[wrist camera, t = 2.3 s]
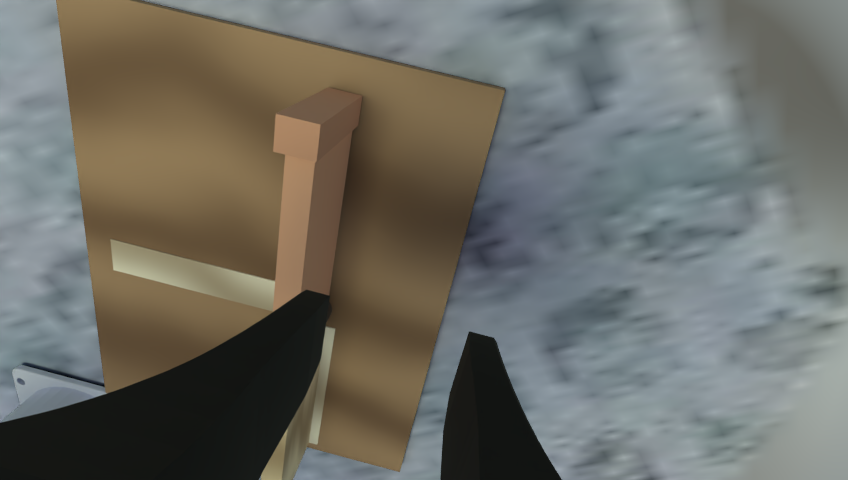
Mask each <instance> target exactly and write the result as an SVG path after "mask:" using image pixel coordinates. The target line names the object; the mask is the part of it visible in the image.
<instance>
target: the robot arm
mask: <svg viewBox="0 0 848 480" xmlns="http://www.w3.org/2000/svg"><path fill="white" fill-rule="evenodd" d="M329 299H330V296H329V295H325V294H322V293H318V292H314V291H310V290H305V291H303V292H301V293H300V294H298V295H297V296H295V297H294V298H292V299H291V300H289V301H288V302H287V303H285V304H284V305H282V306H281V307H279V308H278V309H276V310H275V311H273V312H272V313H271V314H269V315H268V316H266V317H264V318H263V319H261V320H260V321H258V322H257V323H255V324H254V325H252V326H250V327H249V328H247V329H246V330H244V331H242V332H241V333H239V334H237V335H236V336H234V337H232V338H230V339H229V340H227V341H225V342H223V343H222V344H220V345H218V346H216V347H215V348H213V349H211V350H209V351H207V352H205V353H203V354H201V355H200V356H198V357H196V358H194V359H192V360H190V361H187V362H185V363H183V364H181V365H179V366H177V367H174V368H172V369H170V370H168V371H165V372H163V373H160V374H158V375H155V376H153V377H150V378H147V379H145V380H142V381H140V382H137V383H134V384H132V385H129V386H127V387H124V388H121V389H119V390H116V391H113V392H110V393H106V392H105V387H102V386H99V385H95V384H91V383H88V382H84V381H80V380H76V379H73V378H69V377H65V376H62V375H58V374H54V373H50V372H47V371H43V370H39V369H35V368H32V367H28V366H24V365H19V366H17V367H16V368H14V369H13V371H12V373H13V378H14V382H15V386H16V390H17V395H18V399H19V403H20V406H19V407H17V408H16V409H15V410H14V411H13V412H11V413H10V414H9V415H8V416H7V417H5V418H4V419H3V420H2V421H1V422H0V480H259V478H260V476H261V474H262V472H263V470H264V469H265V467H266V465H267V463H268V462H269V460H270V458H271V456H272V455H273V453H274V451H275V449H276V448H277V446H278V444H279V442H280V440H281V439H282V437H283V435H284V433H285V432H286V430H287V428H288V426H289V425H290V423H291V421H292V419H293V418H294V416H295V414H296V412H297V410H298V409H299V407H300V405H301V403H302V401H303V400H304V398H305V396H306V394H307V392H308V389H309V387H310V385H311V382H312V380H313V378H314V375H315V373H316V370H317V368H318V365H319V363H320V360H321V356H322V349H323V342H324V335H325V328H326V320H327V313H328V306H329ZM441 480H562V479H561V478H560V476H559V475H558V473H557V471H556V470H555V468H554V466H553V465H552V463H551V462H550V460H549V458H548V457H547V455H546V453H545V452H544V450H543V448H542V446H541V444H540V443H539V441H538V439H537V437H536V435H535V433H534V431H533V429H532V427H531V426H530V424H529V422H528V420H527V418H526V416H525V413H524V411H523V409H522V407H521V405H520V403H519V400H518V398H517V396H516V394H515V391H514V389H513V387H512V384H511V382H510V379H509V377H508V374H507V372H506V369H505V366H504V364H503V361H502V358H501V355H500V352H499V349H498V346H497V343H496V341H495V339H494V338H492V337H488V336H484V335H481V334H477V333H473V332H469V334H468V337H467V340H466V343H465V347H464V350H463V353H462V356H461V359H460V363H459V366H458V369H457V372H456V375H455V378H454V382H453V385H452V388H451V391H450V396H449V401H448V407H447V413H446V419H445V425H444V431H443V446H442V463H441Z"/></svg>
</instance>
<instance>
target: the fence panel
mask: <svg viewBox="0 0 848 480" xmlns="http://www.w3.org/2000/svg"><path fill="white" fill-rule="evenodd" d="M361 103H362V95H357V94H353V93H349V92H345V91H341V90H337V89H333V88H329V87H328V88H326V89H324V90H322V91H320V92H318V93H316V94H314V95H312V96H310V97H308V98H306V99H304V100H302V101H300V102H298V103H296V104H294V105H292V106H290V107H288V108H286V109H284V110H282V111H280V112H278V113H276V117H275V132H274V146H273V152H277V153H281V154H285V163H284V175H283V188H282V201H281V213H280V226H279V239H278V251H277V264H276V277H275V289H274V302H273V311H275V310H276V309H278V308H279V307H281V306H282V305H284V304H285V303H287V302H288V301H289V300H291V299H292V298H294V297H295V296H297V295H298V294H300V293H301V292H303V291H305V290H310V291H314V292H318V293H322V294H325V295H329V293H330V286H331V279H332V272H333V265H334V258H335V251H336V244H337V237H338V230H339V223H340V216H341V208H342V201H343V194H344V187H345V180H346V173H347V166H348V159H349V152H350V145H351V138H352V131H353V130H354V129H355V128H356V127H357V126H358V124H359V117H360V110H361Z"/></svg>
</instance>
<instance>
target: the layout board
mask: <svg viewBox="0 0 848 480" xmlns="http://www.w3.org/2000/svg"><path fill="white" fill-rule="evenodd" d="M56 3H57V11H58V19H59V27H60V35H61V43H62V51H63V58H64V66H65V74H66V82H67V90H68V98H69V106H70V114H71V122H72V130H73V138H74V146H75V154H76V162H77V170H78V178H79V186H80V194H81V201H82V209H83V217H84V225H85V233H86V241H87V249H88V257H89V265H90V273H91V281H92V289H93V297H94V305H95V313H96V321H97V329H98V337H99V344H100V352H101V360H102V368H103V376H104V384H105V392H106V393H110V392H113V391H116V390H119V389H121V388H124V387H127V386H129V385H132V384H134V383H137V382H140V381H142V380H145V379H147V378H150V377H153V376H155V375H158V374H160V373H163V372H165V371H168V370H170V369H172V368H174V367H177V366H179V365H181V364H183V363H185V362H187V361H190V360H192V359H194V358H196V357H198V356H200V355H201V354H203V353H205V352H207V351H209V350H211V349H213V348H215V347H216V346H218V345H220V344H222V343H223V342H225V341H227V340H229V339H230V338H232V337H234V336H236V335H237V334H239V333H241V332H242V331H244V330H246V329H247V328H249V327H250V326H252V325H254V324H255V323H257V322H258V321H260V320H261V319H263V318H264V317H266V316H268V315H269V314H271V313H272V312H273V302H274V289H275V277H276V264H277V251H278V239H279V226H280V213H281V201H282V188H283V175H284V163H285V154H281V153H277V152H273V146H274V132H275V117H276V113H278V112H280V111H282V110H284V109H286V108H288V107H290V106H292V105H294V104H296V103H298V102H300V101H302V100H304V99H306V98H308V97H310V96H312V95H314V94H316V93H318V92H320V91H322V90H324V89H326V88H328V87H329V88H333V89H337V90H341V91H345V92H349V93H353V94H357V95H362V103H361V110H360V117H359V124H358V126H357V127H356V128H355V129H354V130H353V131H352V138H351V145H350V152H349V159H348V166H347V173H346V180H345V187H344V194H343V201H342V208H341V216H340V223H339V230H338V237H337V244H336V251H335V258H334V265H333V272H332V279H331V286H330V293H329V296H330V299H329V302H330V304H331V306H332V313H331V315H330V317H329V319H328V320H327V322H326V328H325V335H324V342H323V349H322V356H321V361H320V368H319V375H318V382H317V389H316V396H315V403H314V410H313V417H312V424H311V431H310V438H309V443H308V446H307V447H309V448H313V449H316V450H320V451H324V452H328V453H331V454H335V455H339V456H342V457H346V458H350V459H354V460H357V461H361V462H365V463H369V464H372V465H376V466H380V467H383V468H387V469H391V470H395V471H398V472H400V469H401V465H402V462H403V458H404V454H405V451H406V447H407V443H408V440H409V436H410V433H411V429H412V425H413V422H414V418H415V415H416V411H417V407H418V404H419V400H420V397H421V393H422V389H423V386H424V382H425V378H426V375H427V371H428V368H429V364H430V360H431V357H432V353H433V350H434V346H435V342H436V339H437V335H438V332H439V328H440V324H441V321H442V317H443V313H444V310H445V306H446V303H447V299H448V295H449V292H450V288H451V285H452V281H453V277H454V274H455V270H456V267H457V263H458V259H459V256H460V252H461V248H462V245H463V241H464V238H465V234H466V230H467V227H468V223H469V220H470V216H471V212H472V209H473V205H474V201H475V198H476V194H477V191H478V187H479V183H480V180H481V176H482V173H483V169H484V165H485V162H486V158H487V155H488V151H489V147H490V144H491V140H492V136H493V133H494V129H495V126H496V122H497V118H498V115H499V111H500V108H501V104H502V100H503V97H504V93H505V88H502V87H498V86H494V85H490V84H486V83H482V82H477V81H473V80H469V79H465V78H461V77H457V76H453V75H448V74H444V73H440V72H436V71H432V70H428V69H423V68H419V67H415V66H411V65H407V64H403V63H398V62H394V61H390V60H386V59H382V58H378V57H374V56H369V55H365V54H361V53H357V52H353V51H349V50H344V49H340V48H336V47H332V46H328V45H324V44H319V43H315V42H311V41H307V40H303V39H299V38H294V37H290V36H286V35H282V34H278V33H274V32H270V31H265V30H261V29H257V28H253V27H249V26H245V25H240V24H236V23H232V22H228V21H224V20H220V19H215V18H211V17H207V16H203V15H199V14H195V13H191V12H186V11H182V10H178V9H174V8H170V7H166V6H161V5H157V4H153V3H149V2H145V1H141V0H56Z"/></svg>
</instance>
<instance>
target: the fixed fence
mask: <svg viewBox="0 0 848 480" xmlns="http://www.w3.org/2000/svg"><path fill="white" fill-rule="evenodd" d="M331 313H332V306H331V304H330V302H329V306H328V313H327V320H328V319H329V317H330V315H331ZM327 320H326V322H327ZM320 361H321V360H320ZM319 368H320V363H319V365H318V368H317V370H316V373H315V375H314V378H313V380H312V382H311V385H310V387H309V389H308V392H307V394H306V396H305V398H304V400H303V401H302V403H301V405H300V407H299V409H298V410H297V412H296V414H295V416H294V418H293V419H292V421H291V423H290V425H289V426H288V428H287V430H286V432H285V433H284V435H283V437H282V439H281V440H280V442H279V444H278V446H277V448H276V449H275V451H274V453H273V455H272V456H271V458H270V460H269V462H268V463H267V465H266V467H265V469H264V470H263V472H262V474H261V480H293V478H294V476H295V473H296V471H297V469H298V466H299V464H300V462H301V460H302V457H303V455H304V453H305V450H306V448H307V446H308V443H309V438H310V431H311V424H312V417H313V410H314V403H315V396H316V389H317V382H318V375H319Z"/></svg>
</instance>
